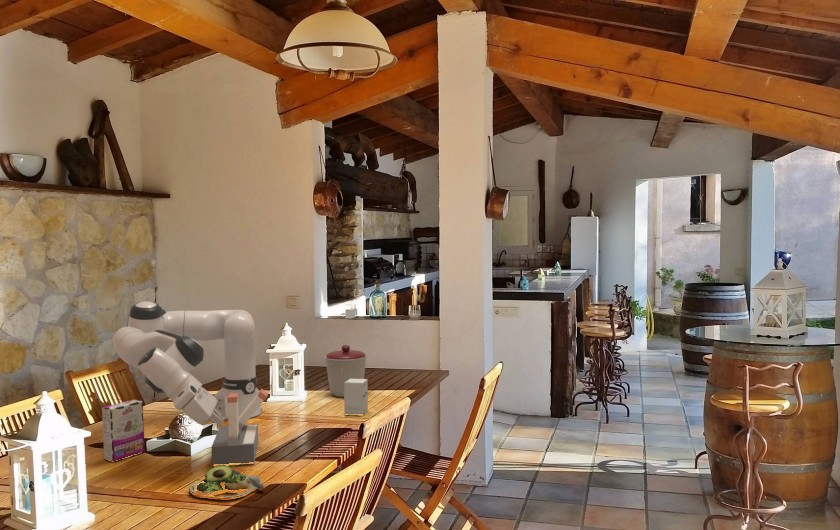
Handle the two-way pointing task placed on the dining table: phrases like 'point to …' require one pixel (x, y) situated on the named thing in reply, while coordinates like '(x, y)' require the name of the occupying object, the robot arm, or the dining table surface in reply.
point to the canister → (344, 368)
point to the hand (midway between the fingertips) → (222, 423)
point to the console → (235, 445)
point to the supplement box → (355, 396)
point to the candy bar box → (123, 429)
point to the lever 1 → (233, 414)
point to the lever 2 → (252, 407)
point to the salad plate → (227, 481)
